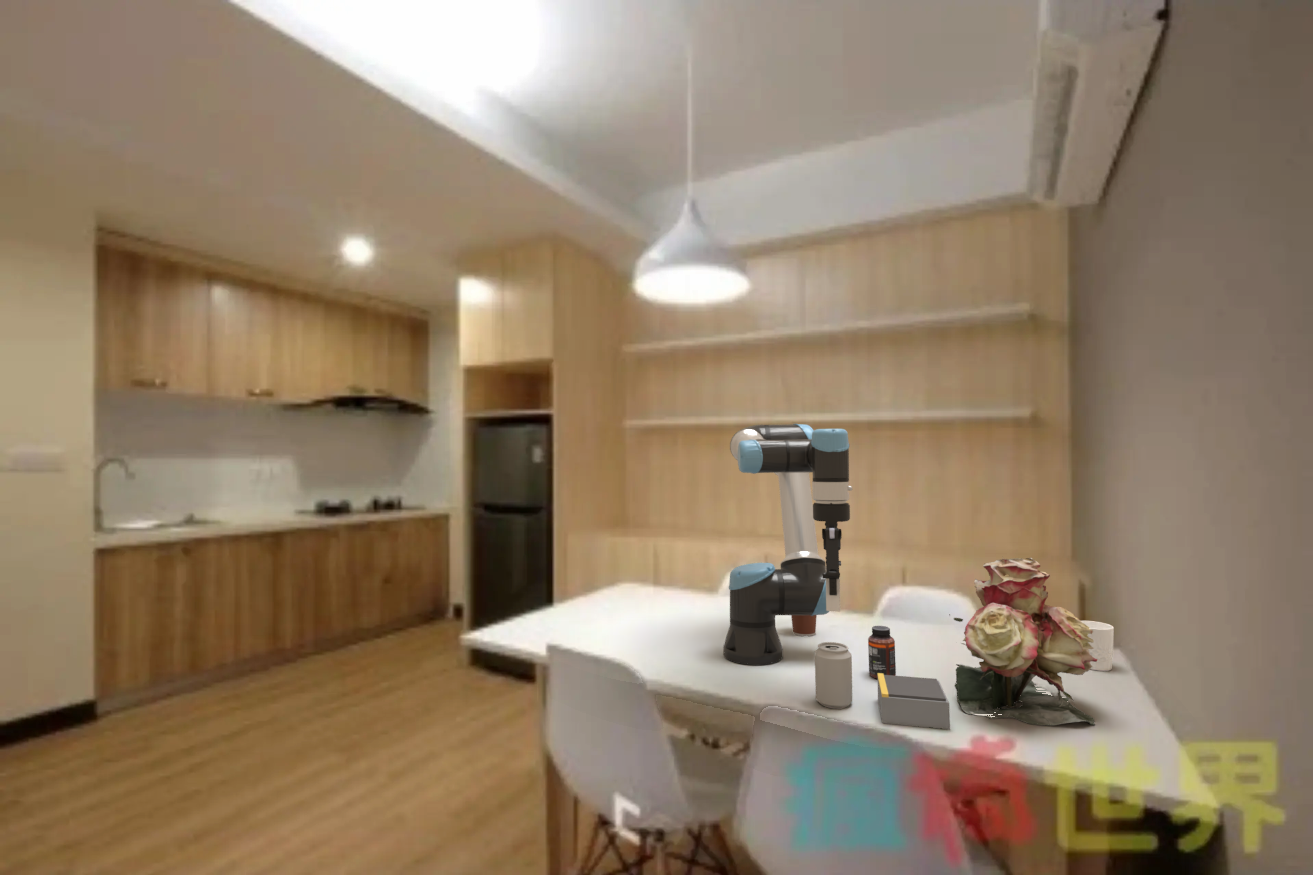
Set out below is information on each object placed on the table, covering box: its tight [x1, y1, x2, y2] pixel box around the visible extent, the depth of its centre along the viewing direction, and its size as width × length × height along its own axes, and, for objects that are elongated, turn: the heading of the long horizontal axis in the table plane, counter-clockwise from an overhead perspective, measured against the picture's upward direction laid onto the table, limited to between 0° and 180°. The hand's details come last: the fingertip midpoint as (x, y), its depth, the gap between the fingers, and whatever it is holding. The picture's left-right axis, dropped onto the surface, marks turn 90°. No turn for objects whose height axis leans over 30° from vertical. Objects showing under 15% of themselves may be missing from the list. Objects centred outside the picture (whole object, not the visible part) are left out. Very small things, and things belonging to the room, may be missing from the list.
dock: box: [877, 673, 951, 730], centre depth 127 cm, size 12×12×6 cm
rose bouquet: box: [949, 557, 1097, 726], centre depth 132 cm, size 26×29×30 cm
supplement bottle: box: [867, 625, 897, 680], centre depth 149 cm, size 6×6×11 cm
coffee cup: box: [790, 615, 818, 637], centre depth 185 cm, size 9×9×12 cm
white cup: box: [1080, 620, 1115, 672], centre depth 154 cm, size 8×8×10 cm
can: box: [814, 641, 853, 710], centre depth 133 cm, size 8×8×12 cm
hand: (832, 603), depth 134 cm, fingers open, 13 cm apart
